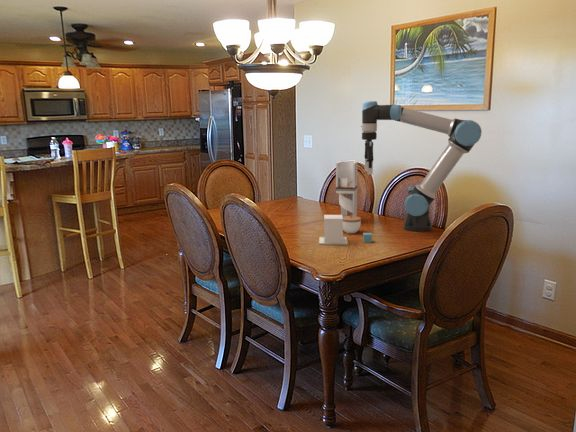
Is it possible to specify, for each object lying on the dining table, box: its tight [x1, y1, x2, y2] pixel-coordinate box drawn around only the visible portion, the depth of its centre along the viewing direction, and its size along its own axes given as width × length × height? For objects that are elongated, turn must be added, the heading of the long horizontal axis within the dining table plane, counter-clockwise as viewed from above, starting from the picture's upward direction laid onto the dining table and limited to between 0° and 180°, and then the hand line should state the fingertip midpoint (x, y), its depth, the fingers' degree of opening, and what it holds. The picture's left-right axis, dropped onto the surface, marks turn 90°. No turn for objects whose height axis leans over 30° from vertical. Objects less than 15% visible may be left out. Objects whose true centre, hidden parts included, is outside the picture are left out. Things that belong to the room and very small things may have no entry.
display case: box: [335, 160, 359, 217], centre depth 274 cm, size 11×11×35 cm
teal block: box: [362, 232, 373, 243], centre depth 234 cm, size 4×4×4 cm
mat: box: [318, 236, 349, 246], centre depth 235 cm, size 14×12×1 cm
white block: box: [323, 214, 344, 243], centre depth 234 cm, size 9×9×12 cm
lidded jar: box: [343, 215, 362, 234], centre depth 252 cm, size 11×11×9 cm
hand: (368, 172), depth 248 cm, fingers open, 13 cm apart
